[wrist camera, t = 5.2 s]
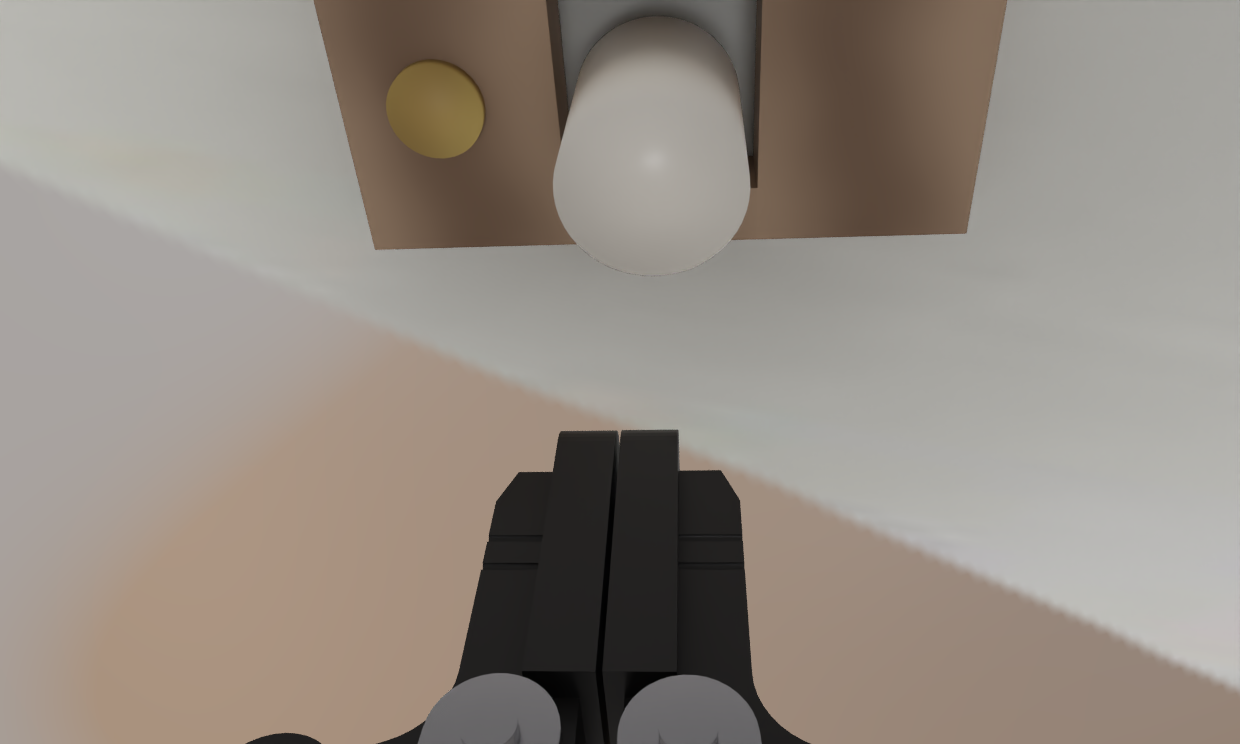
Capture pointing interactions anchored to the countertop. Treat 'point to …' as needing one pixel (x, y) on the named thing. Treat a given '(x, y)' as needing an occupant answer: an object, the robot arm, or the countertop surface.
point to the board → (783, 116)
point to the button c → (654, 150)
